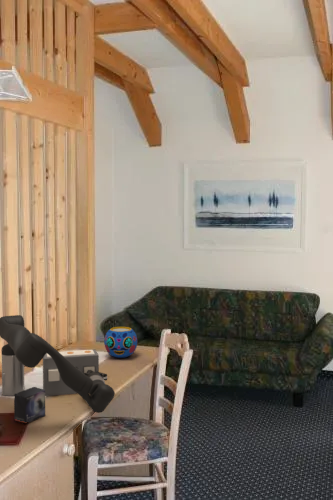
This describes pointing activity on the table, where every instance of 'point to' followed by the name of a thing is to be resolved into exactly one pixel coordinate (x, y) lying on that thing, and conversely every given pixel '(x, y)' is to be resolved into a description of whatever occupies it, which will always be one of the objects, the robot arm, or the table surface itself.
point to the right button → (89, 368)
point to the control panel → (76, 359)
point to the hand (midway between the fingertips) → (89, 372)
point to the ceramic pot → (120, 341)
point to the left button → (53, 375)
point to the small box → (29, 404)
